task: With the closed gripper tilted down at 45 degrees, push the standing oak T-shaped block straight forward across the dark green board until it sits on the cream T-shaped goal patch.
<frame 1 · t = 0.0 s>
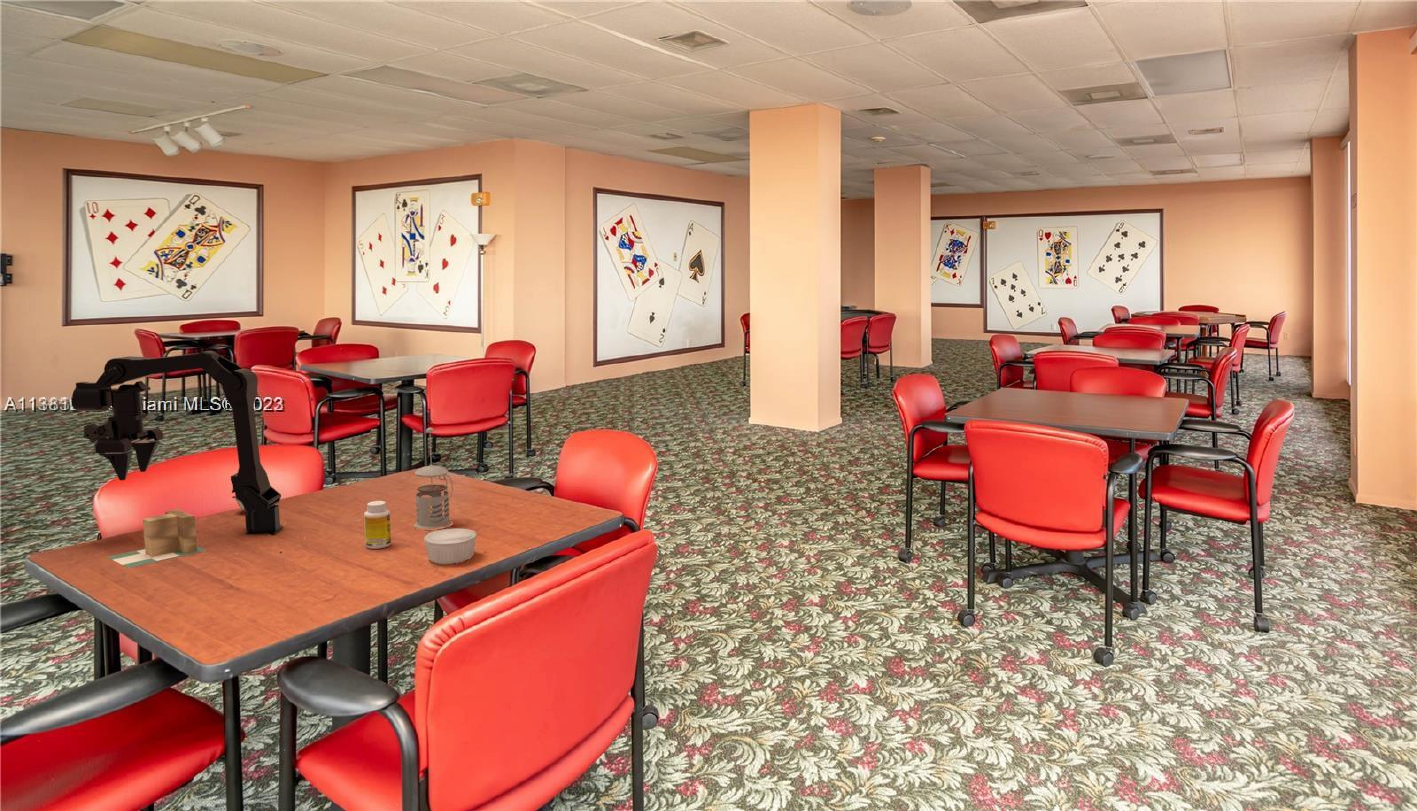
hand: (132, 475, 198), 15 cm above the table, tool pointing down, fingers open, 9 cm apart
french press: (435, 525, 212), on the table
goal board: (157, 555, 185), on the table
supplement bottle: (378, 546, 194), on the table
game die: (252, 512, 222), on the table
oak t block: (168, 550, 187), resting on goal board
ramekin: (451, 559, 185), on the table
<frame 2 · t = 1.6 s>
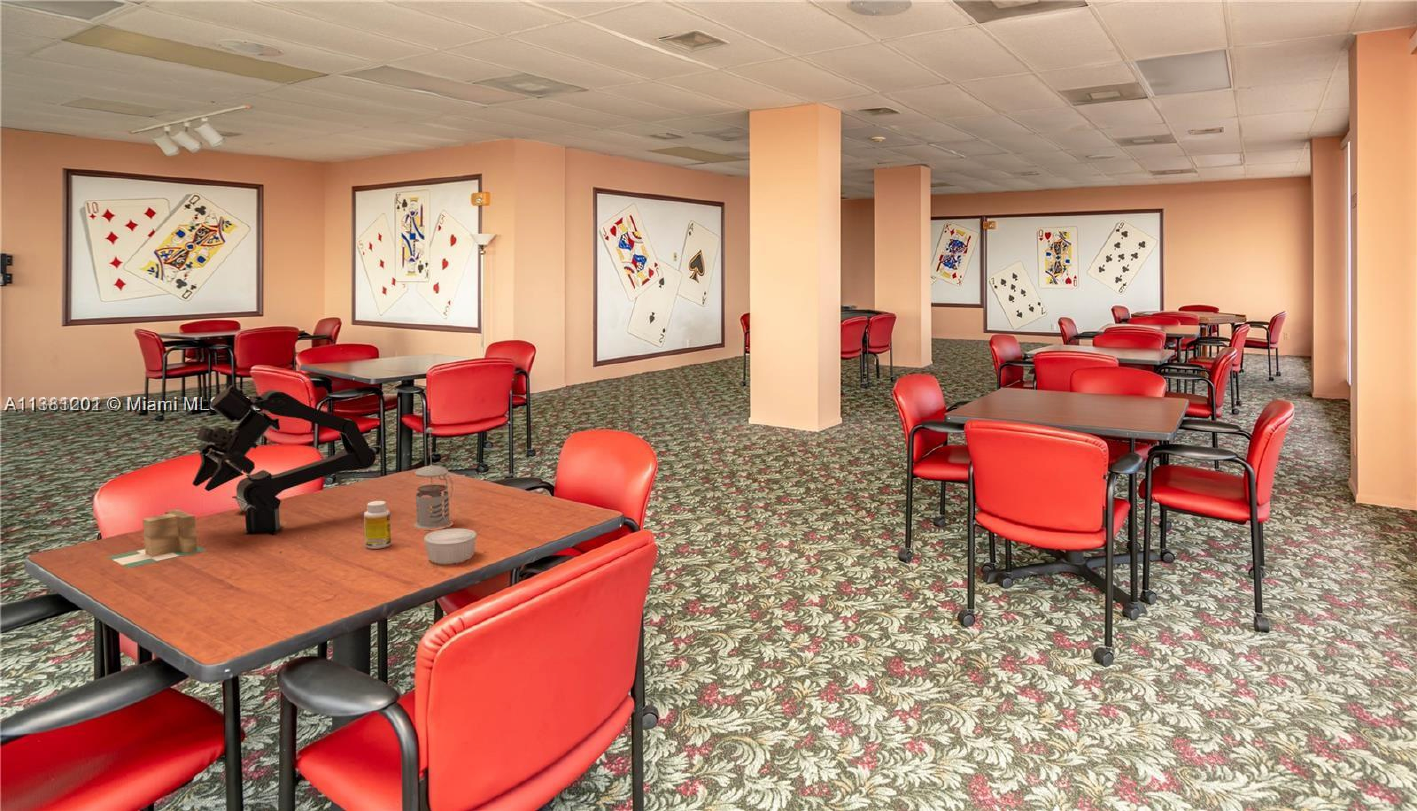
hand: (200, 487, 192), 13 cm above the table, tool tilted 45°, fingers open, 7 cm apart
nothing on the table moved.
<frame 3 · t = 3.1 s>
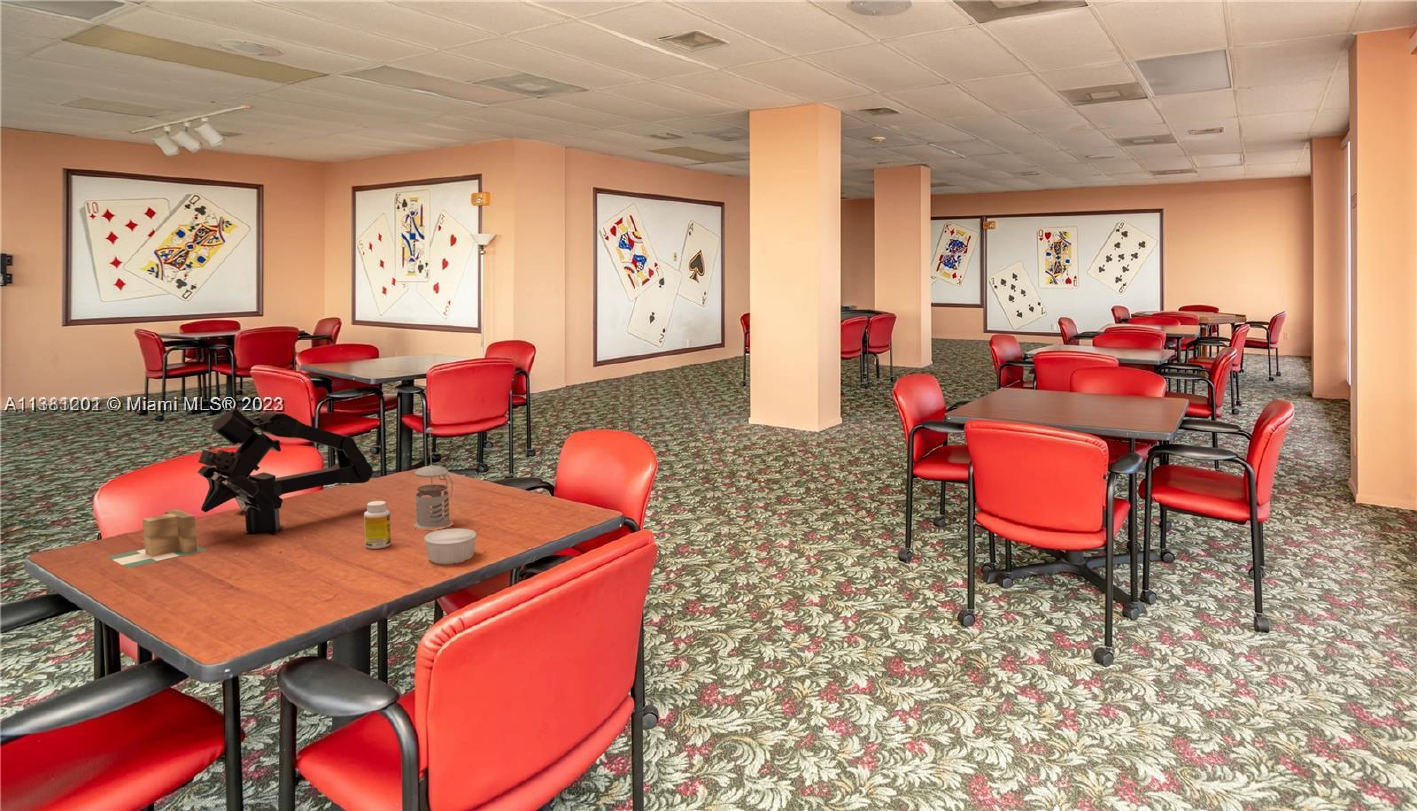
hand: (203, 511, 192), 8 cm above the table, tool tilted 45°, fingers closed
nothing on the table moved.
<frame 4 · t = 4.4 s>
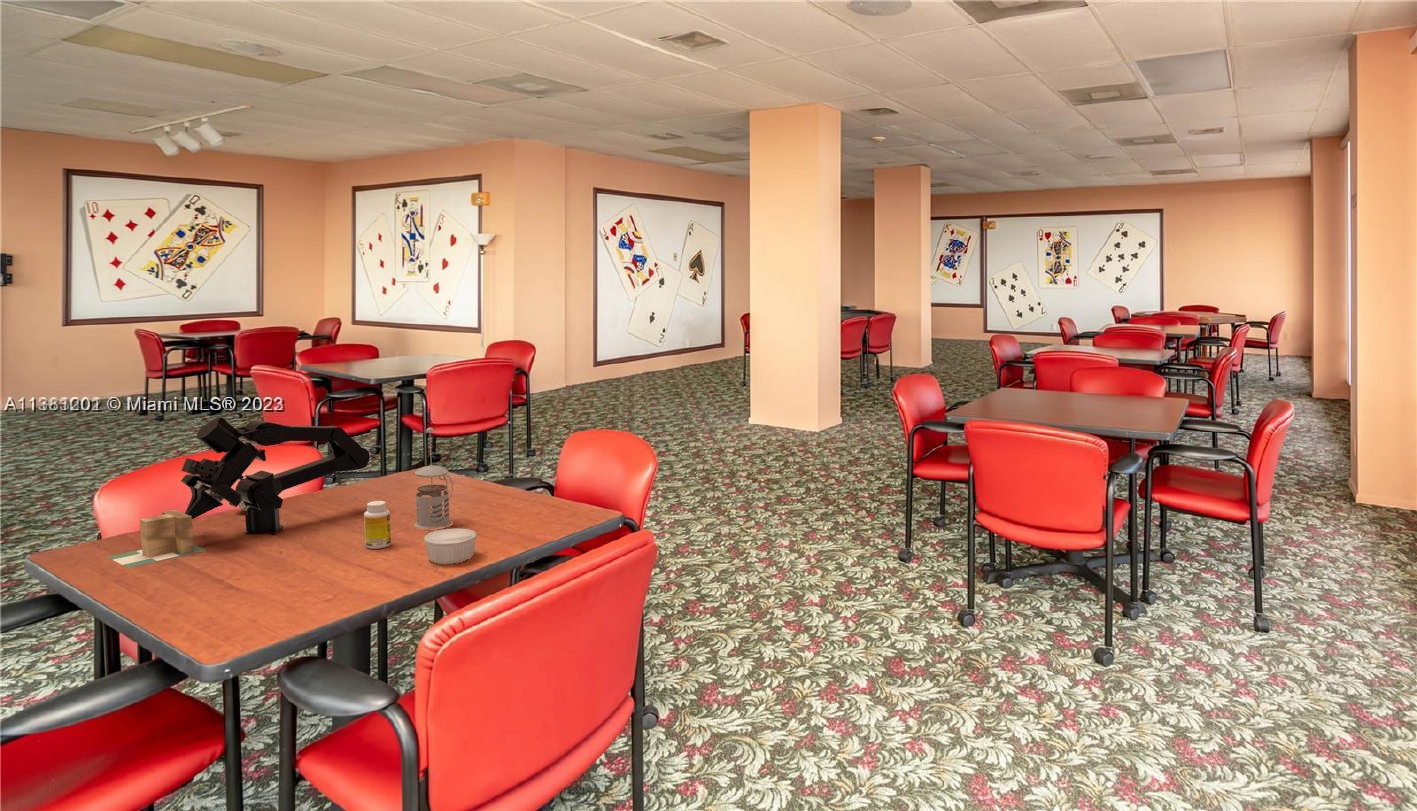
hand: (184, 520, 189), 7 cm above the table, tool tilted 45°, fingers closed, pressing on oak t block
oak t block: (166, 551, 187), point 1 cm above the table, touching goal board, gripper
everything else where it was.
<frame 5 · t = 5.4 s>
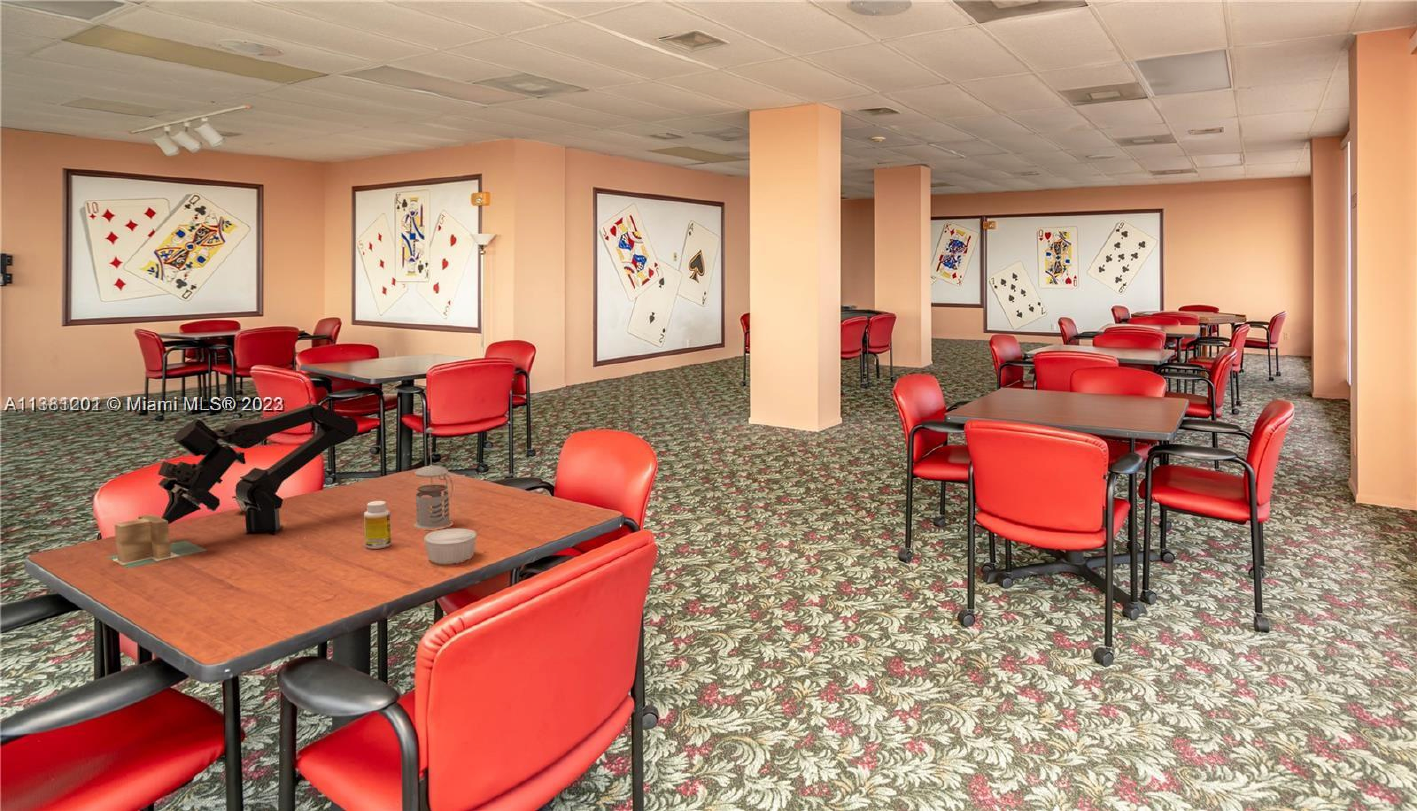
hand: (161, 524, 186), 7 cm above the table, tool tilted 45°, fingers closed, pressing on oak t block
oak t block: (142, 556, 183), point 1 cm above the table, touching gripper
everything else where it was.
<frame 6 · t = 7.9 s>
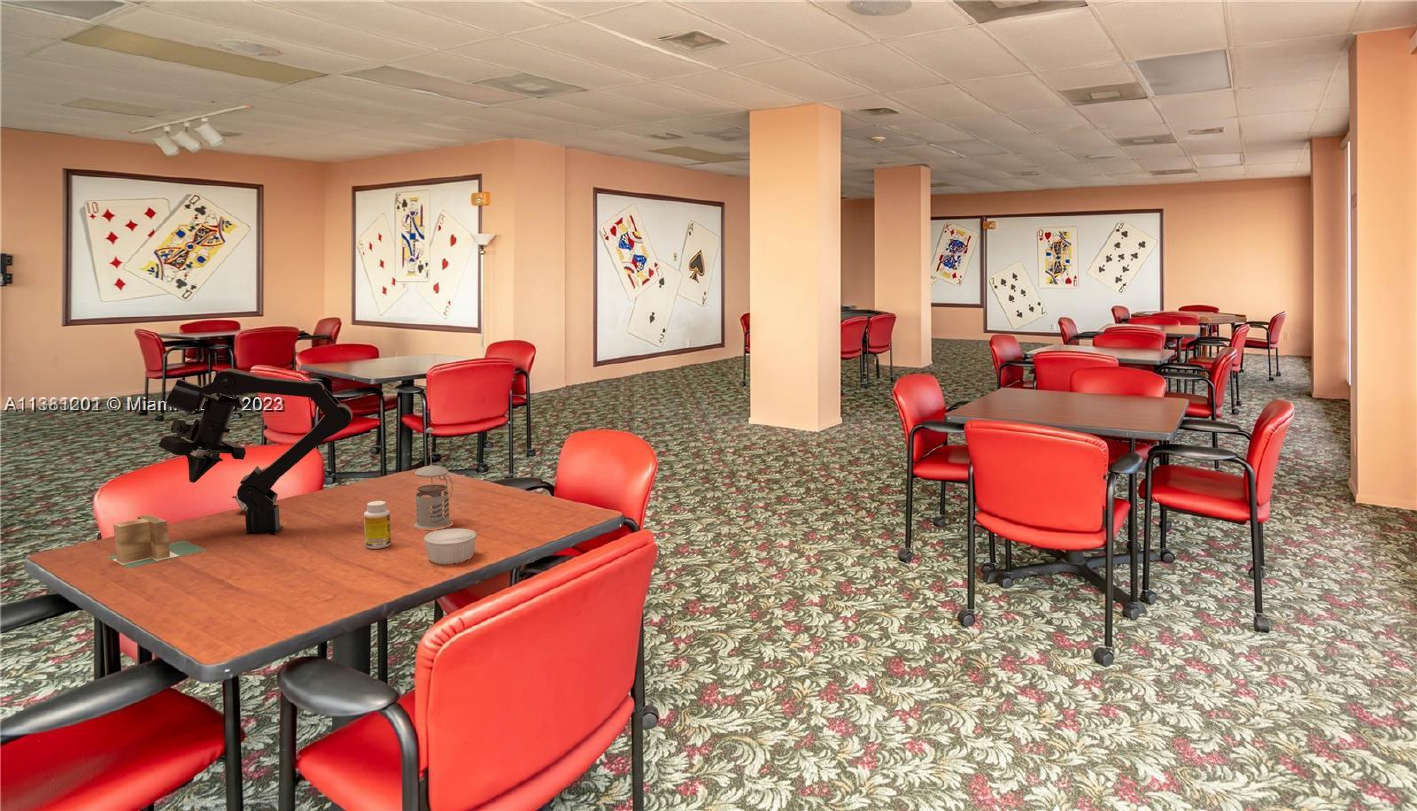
hand: (192, 482, 197), 14 cm above the table, tool tilted 20°, fingers closed
oak t block: (141, 556, 183), resting on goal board
everything else where it was.
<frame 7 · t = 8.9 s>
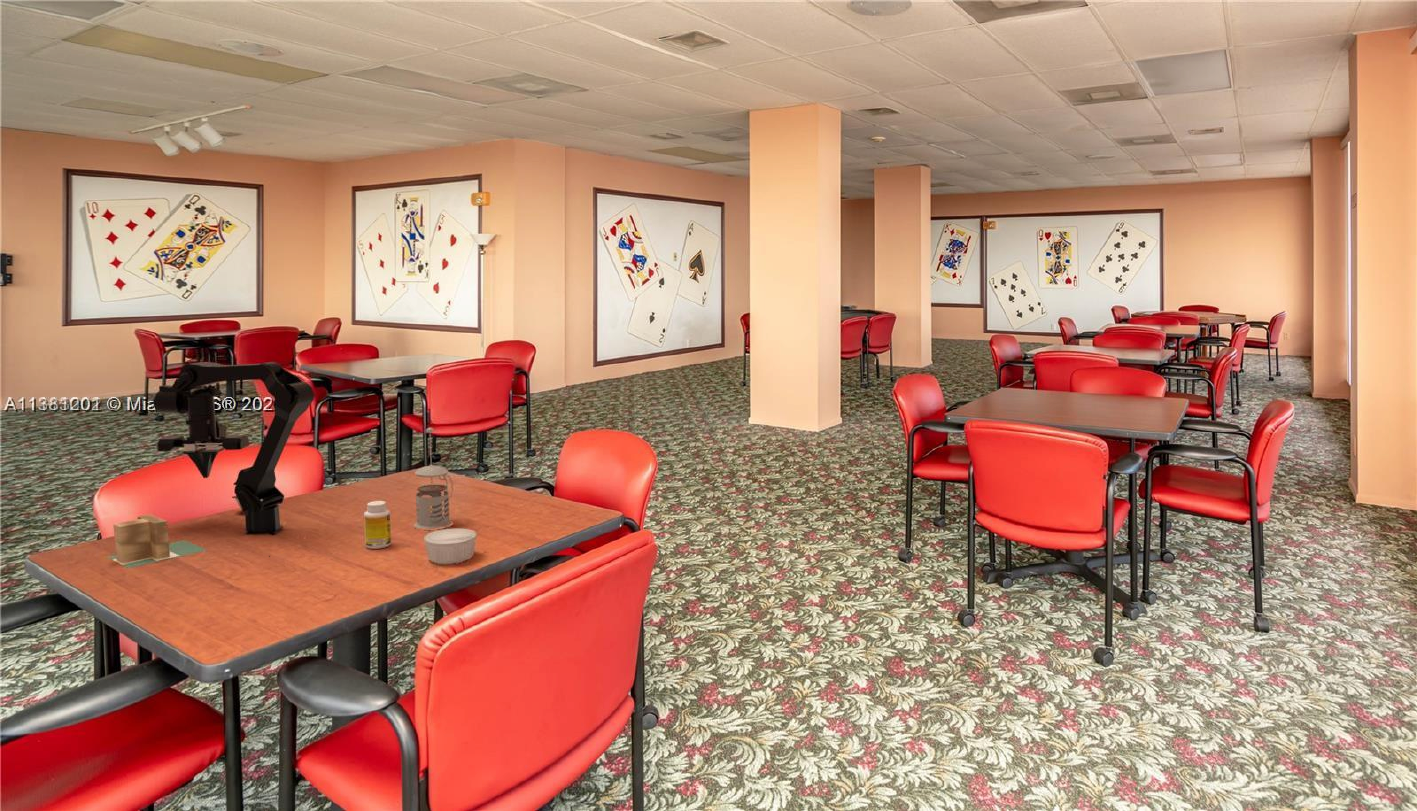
hand: (206, 477, 204), 13 cm above the table, tool pointing down, fingers closed
nothing on the table moved.
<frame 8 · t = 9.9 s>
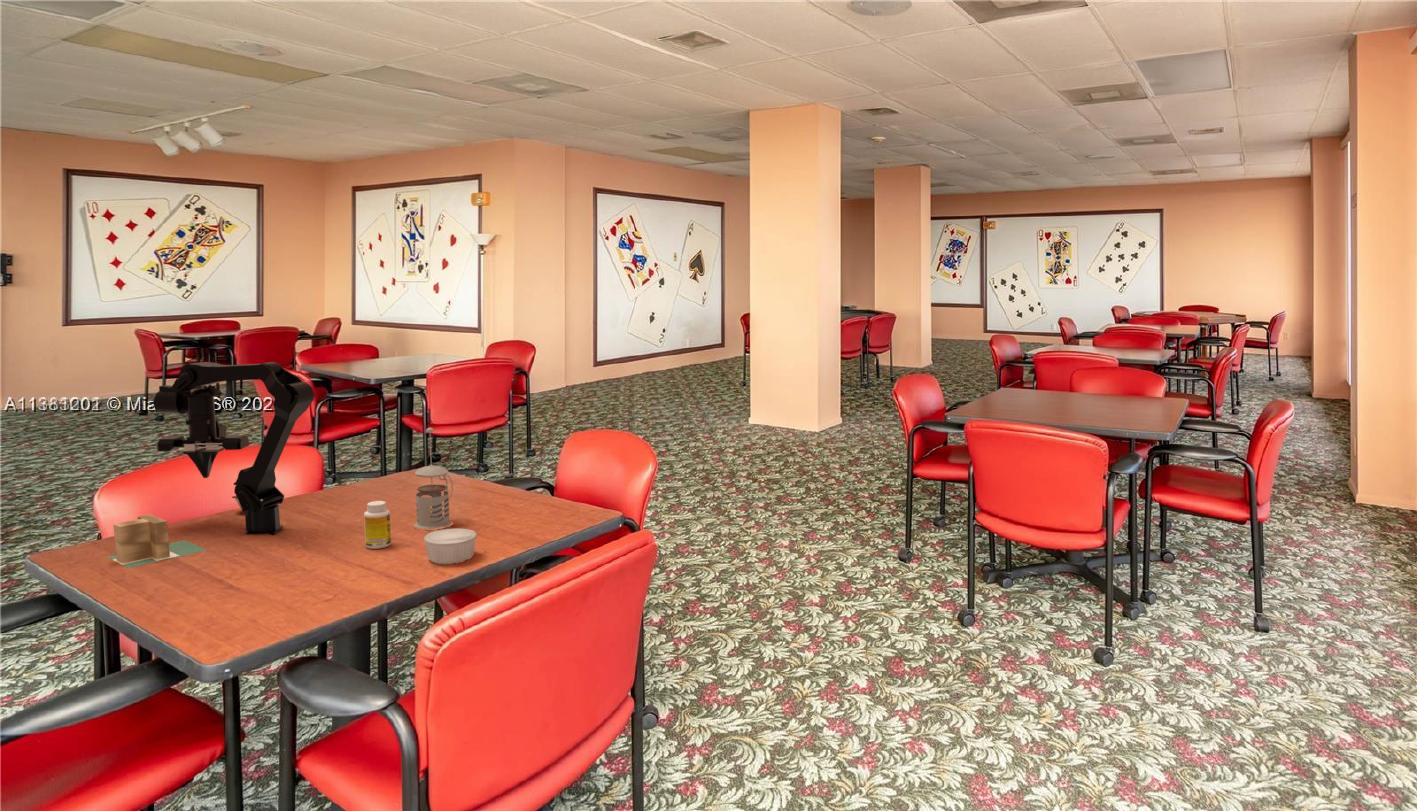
hand: (206, 477, 204), 13 cm above the table, tool pointing down, fingers closed
nothing on the table moved.
at the end: oak t block 0.1 cm from the target spot, point 0.5 cm above the table; oak t block tilted 0° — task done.
